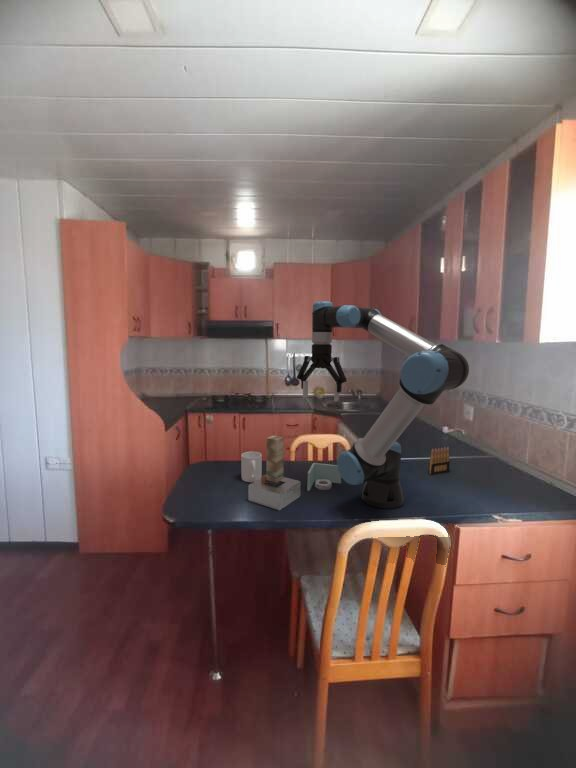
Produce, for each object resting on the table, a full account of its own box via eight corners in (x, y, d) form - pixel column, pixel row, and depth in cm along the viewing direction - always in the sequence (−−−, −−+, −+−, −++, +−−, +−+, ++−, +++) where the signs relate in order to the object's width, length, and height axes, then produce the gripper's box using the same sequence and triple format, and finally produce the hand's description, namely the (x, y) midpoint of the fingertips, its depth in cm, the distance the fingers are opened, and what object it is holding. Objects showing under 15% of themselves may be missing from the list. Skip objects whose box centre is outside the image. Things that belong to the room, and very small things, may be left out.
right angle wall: (307, 490, 145) (307, 472, 144) (312, 479, 157) (313, 462, 156) (337, 494, 142) (338, 475, 141) (340, 482, 154) (341, 465, 153)
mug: (244, 486, 148) (243, 461, 147) (240, 476, 159) (240, 452, 158) (264, 484, 150) (265, 459, 149) (259, 474, 162) (259, 450, 160)
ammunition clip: (431, 475, 163) (432, 449, 162) (428, 473, 165) (429, 448, 163) (449, 472, 167) (451, 446, 166) (446, 470, 169) (448, 445, 167)
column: (283, 478, 137) (284, 437, 135) (276, 482, 133) (276, 440, 131) (273, 476, 140) (273, 435, 138) (266, 479, 136) (266, 438, 134)
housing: (300, 496, 140) (300, 476, 139) (279, 510, 128) (279, 488, 127) (270, 487, 147) (270, 468, 146) (248, 500, 135) (248, 479, 134)
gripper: (356, 344, 135) (354, 401, 137) (298, 343, 148) (298, 394, 151) (348, 344, 128) (346, 403, 131) (288, 343, 142) (288, 397, 144)
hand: (320, 399), depth 141 cm, fingers open, 13 cm apart
